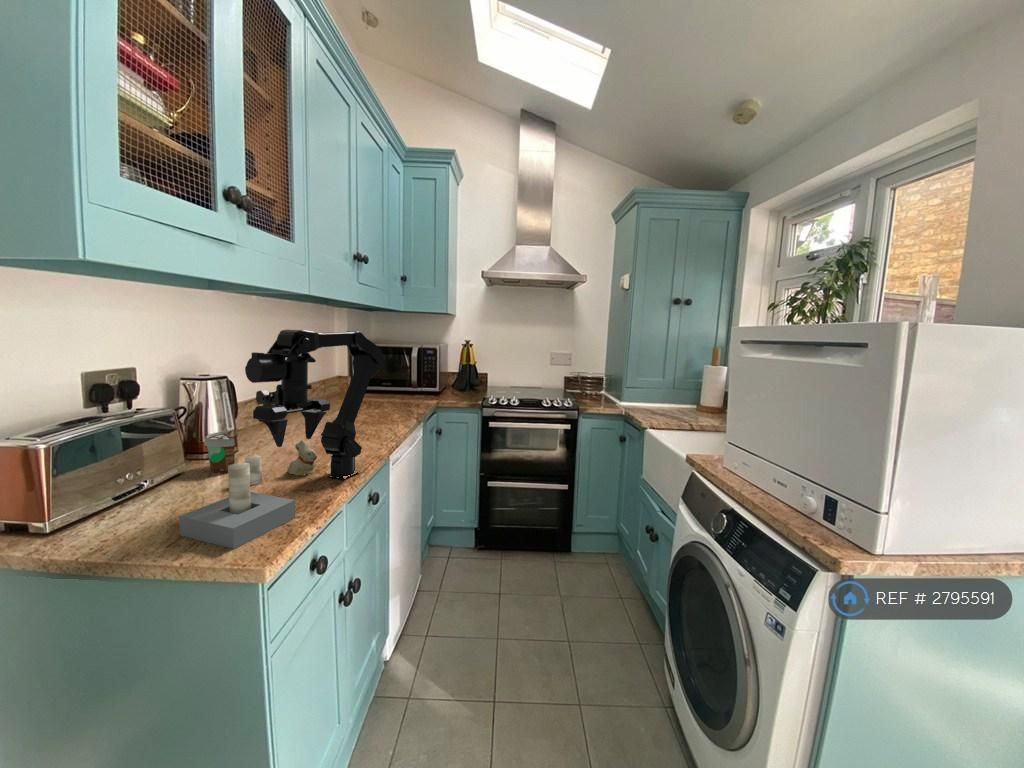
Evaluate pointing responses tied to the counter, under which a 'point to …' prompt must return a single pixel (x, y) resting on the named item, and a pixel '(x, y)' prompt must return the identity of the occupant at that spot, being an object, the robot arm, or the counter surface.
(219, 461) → the food container
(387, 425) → the counter surface
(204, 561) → the counter surface
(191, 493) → the counter surface
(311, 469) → the chocolate bunny
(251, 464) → the short pin
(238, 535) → the socket block
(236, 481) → the long pin
